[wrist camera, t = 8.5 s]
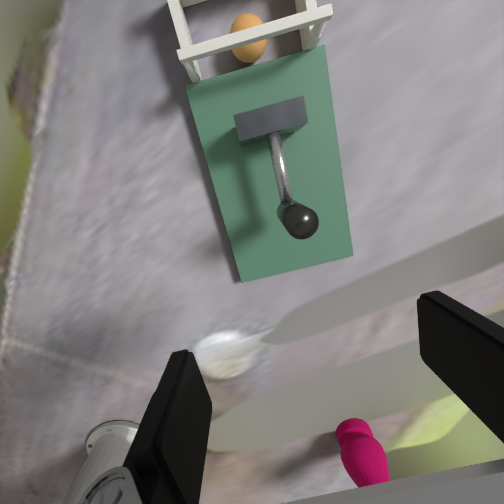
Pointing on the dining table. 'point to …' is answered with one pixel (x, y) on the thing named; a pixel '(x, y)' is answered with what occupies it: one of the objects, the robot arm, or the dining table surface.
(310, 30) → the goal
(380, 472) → the pepper mill
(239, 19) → the ball
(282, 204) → the grey mallet
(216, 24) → the dining table surface
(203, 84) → the pitch board
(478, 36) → the dining table surface
